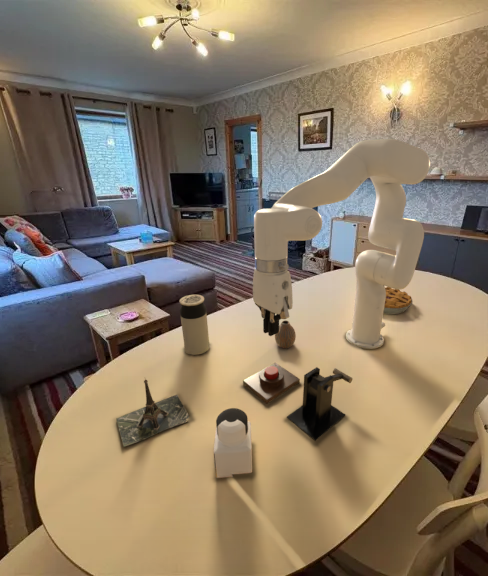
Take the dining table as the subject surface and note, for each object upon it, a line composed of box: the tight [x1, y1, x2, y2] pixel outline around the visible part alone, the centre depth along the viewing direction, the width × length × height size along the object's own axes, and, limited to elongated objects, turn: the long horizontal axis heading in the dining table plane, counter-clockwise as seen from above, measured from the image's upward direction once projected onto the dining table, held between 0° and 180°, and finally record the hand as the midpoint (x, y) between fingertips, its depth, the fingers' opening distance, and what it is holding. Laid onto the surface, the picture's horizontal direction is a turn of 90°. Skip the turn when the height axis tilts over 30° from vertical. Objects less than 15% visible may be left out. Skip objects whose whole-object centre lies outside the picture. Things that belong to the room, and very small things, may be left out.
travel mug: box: [178, 294, 210, 356], centre depth 98 cm, size 8×8×18 cm
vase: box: [274, 320, 297, 349], centre depth 102 cm, size 7×7×9 cm
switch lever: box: [310, 368, 353, 390], centre depth 73 cm, size 12×5×2 cm, turn 133°
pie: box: [383, 286, 413, 315], centre depth 132 cm, size 22×22×5 cm
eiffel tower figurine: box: [116, 378, 191, 447], centre depth 71 cm, size 15×10×13 cm
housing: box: [242, 362, 301, 404], centre depth 84 cm, size 12×10×4 cm
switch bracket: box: [286, 366, 346, 442], centre depth 71 cm, size 11×9×13 cm
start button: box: [264, 365, 278, 379], centre depth 83 cm, size 4×4×2 cm
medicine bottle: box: [213, 407, 253, 479], centre depth 61 cm, size 7×7×12 cm
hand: (271, 332), depth 78 cm, fingers closed
